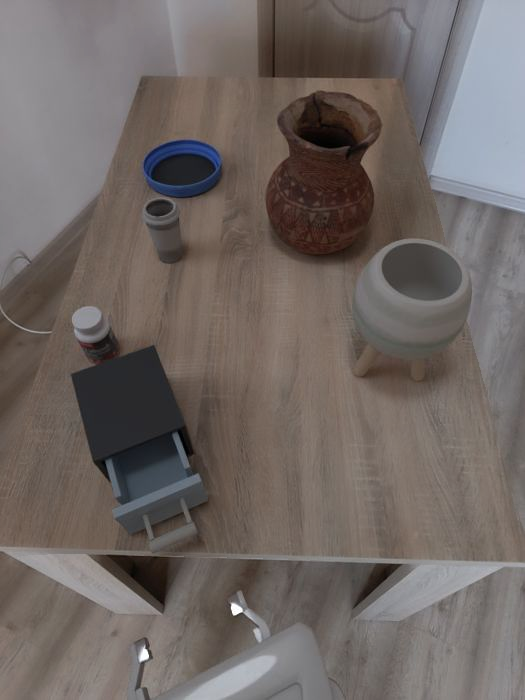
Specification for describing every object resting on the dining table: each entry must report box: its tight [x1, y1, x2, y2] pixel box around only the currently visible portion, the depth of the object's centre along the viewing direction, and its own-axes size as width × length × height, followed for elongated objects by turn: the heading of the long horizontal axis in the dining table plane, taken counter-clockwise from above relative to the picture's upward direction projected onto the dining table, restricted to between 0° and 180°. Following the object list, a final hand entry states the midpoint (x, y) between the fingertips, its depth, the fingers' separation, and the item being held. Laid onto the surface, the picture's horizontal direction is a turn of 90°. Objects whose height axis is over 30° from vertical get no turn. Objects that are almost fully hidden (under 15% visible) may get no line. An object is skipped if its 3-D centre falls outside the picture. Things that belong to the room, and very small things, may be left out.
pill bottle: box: [71, 305, 120, 365], centre depth 79 cm, size 6×6×10 cm
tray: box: [105, 431, 209, 555], centre depth 65 cm, size 18×11×8 cm, turn 24°
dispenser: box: [70, 344, 196, 484], centre depth 71 cm, size 15×13×10 cm
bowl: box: [142, 138, 223, 198], centre depth 110 cm, size 18×18×4 cm
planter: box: [351, 238, 473, 382], centre depth 72 cm, size 16×16×22 cm
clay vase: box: [265, 90, 383, 255], centre depth 90 cm, size 22×21×25 cm
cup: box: [141, 196, 183, 264], centre depth 91 cm, size 7×7×12 cm
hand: (187, 616), depth 44 cm, fingers open, 8 cm apart
